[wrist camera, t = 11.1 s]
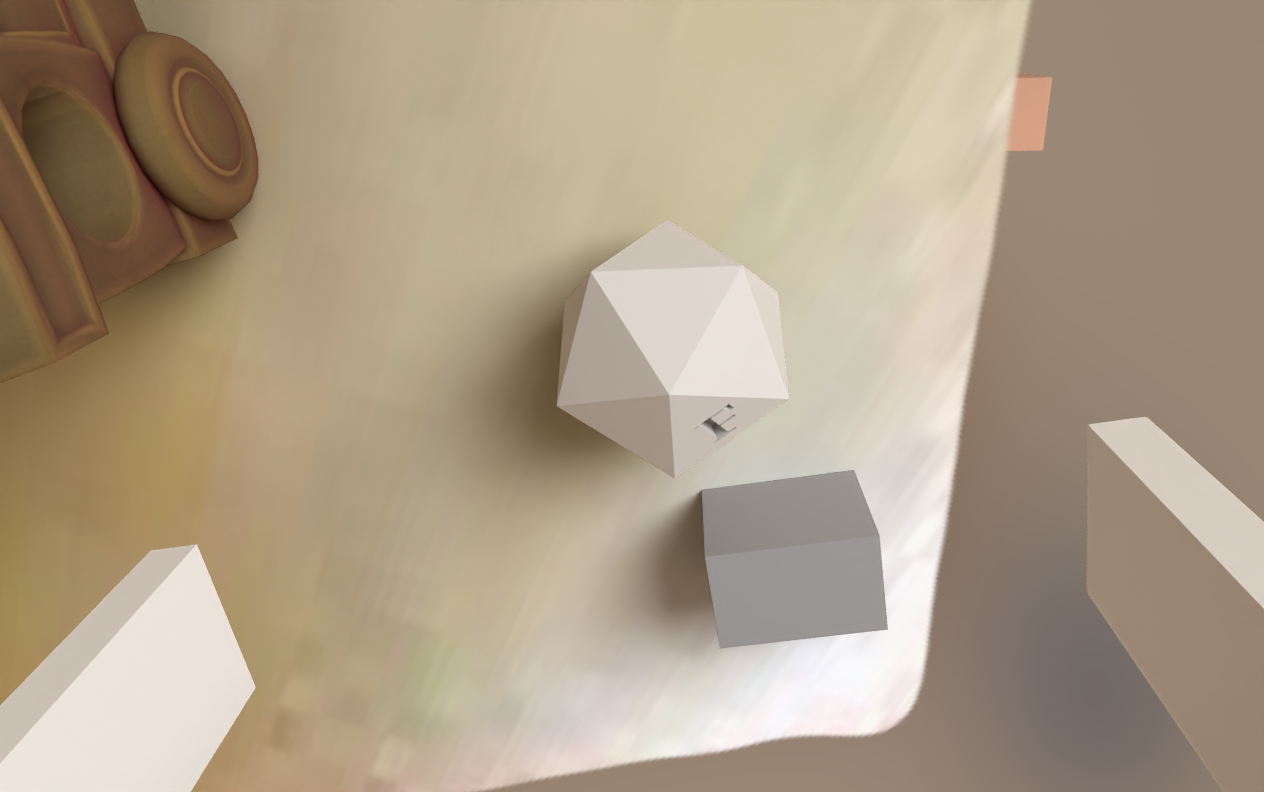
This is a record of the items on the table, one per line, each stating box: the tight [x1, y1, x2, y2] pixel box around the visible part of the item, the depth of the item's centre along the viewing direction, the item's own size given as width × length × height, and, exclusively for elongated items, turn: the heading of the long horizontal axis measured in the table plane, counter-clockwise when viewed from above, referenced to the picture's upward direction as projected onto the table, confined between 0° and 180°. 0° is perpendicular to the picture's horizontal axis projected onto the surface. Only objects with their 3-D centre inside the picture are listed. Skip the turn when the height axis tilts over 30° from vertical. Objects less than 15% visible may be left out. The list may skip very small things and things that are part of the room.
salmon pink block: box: [1007, 73, 1052, 151], centre depth 63 cm, size 7×4×6 cm, turn 92°
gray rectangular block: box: [702, 470, 888, 648], centre depth 41 cm, size 4×7×6 cm, turn 100°
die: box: [557, 220, 789, 478], centre depth 36 cm, size 8×9×10 cm
